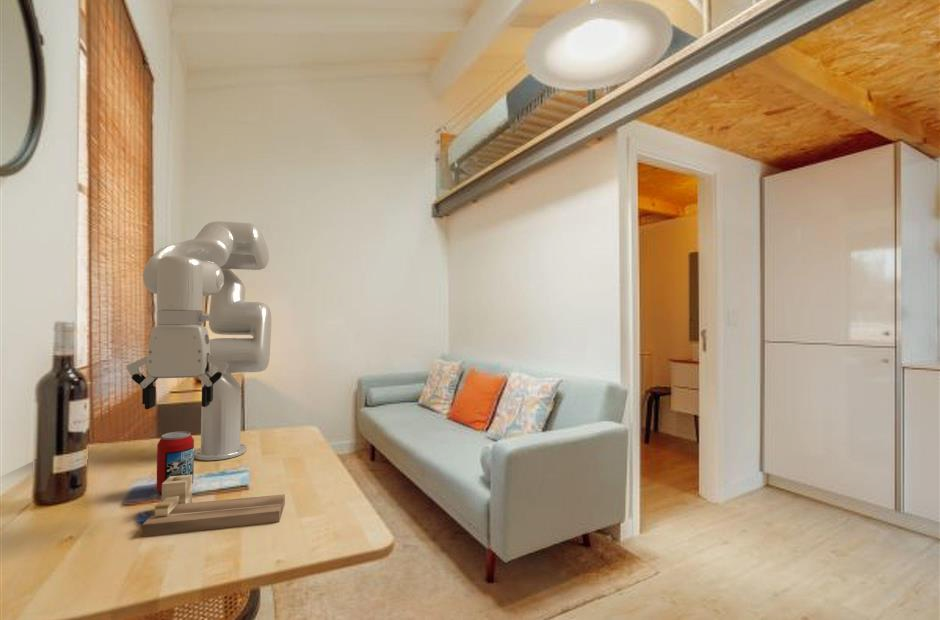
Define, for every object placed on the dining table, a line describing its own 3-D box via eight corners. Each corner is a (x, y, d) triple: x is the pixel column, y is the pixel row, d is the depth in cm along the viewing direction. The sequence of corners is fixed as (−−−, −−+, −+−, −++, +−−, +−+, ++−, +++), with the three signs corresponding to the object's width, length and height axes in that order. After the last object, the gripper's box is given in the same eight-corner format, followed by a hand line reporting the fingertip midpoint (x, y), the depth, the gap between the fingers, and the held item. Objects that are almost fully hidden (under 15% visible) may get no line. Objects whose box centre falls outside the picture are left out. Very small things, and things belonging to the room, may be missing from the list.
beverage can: (175, 496, 94) (176, 439, 94) (148, 494, 95) (149, 437, 95) (200, 485, 101) (201, 431, 101) (175, 482, 102) (176, 429, 102)
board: (160, 516, 85) (160, 505, 85) (284, 504, 91) (284, 494, 91) (142, 536, 77) (142, 524, 77) (279, 521, 83) (279, 510, 83)
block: (169, 506, 89) (169, 475, 89) (191, 504, 90) (192, 473, 91) (148, 530, 80) (148, 494, 80) (173, 527, 81) (174, 492, 81)
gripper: (233, 319, 94) (231, 401, 94) (137, 319, 89) (135, 404, 89) (223, 320, 87) (222, 408, 87) (119, 319, 82) (117, 413, 82)
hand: (178, 406), depth 88 cm, fingers open, 9 cm apart
